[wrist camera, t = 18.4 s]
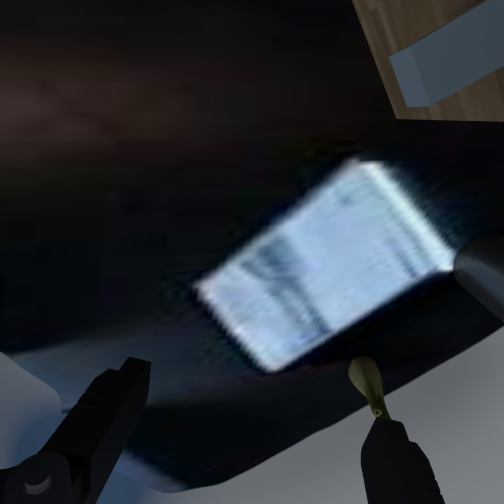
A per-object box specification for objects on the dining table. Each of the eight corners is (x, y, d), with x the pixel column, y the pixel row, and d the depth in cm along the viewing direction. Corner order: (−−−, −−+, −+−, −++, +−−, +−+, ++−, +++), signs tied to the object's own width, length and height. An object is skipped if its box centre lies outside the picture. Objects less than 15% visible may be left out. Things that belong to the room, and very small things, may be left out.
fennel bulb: (374, 377, 58) (400, 438, 47) (346, 378, 59) (365, 440, 48) (375, 350, 56) (402, 407, 45) (345, 352, 56) (365, 410, 45)
